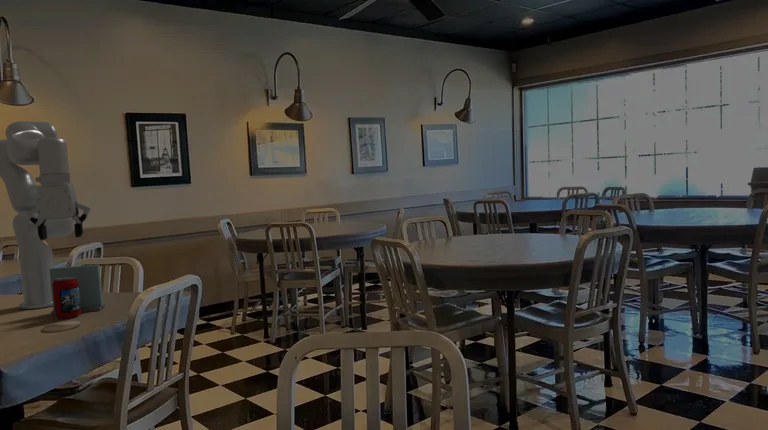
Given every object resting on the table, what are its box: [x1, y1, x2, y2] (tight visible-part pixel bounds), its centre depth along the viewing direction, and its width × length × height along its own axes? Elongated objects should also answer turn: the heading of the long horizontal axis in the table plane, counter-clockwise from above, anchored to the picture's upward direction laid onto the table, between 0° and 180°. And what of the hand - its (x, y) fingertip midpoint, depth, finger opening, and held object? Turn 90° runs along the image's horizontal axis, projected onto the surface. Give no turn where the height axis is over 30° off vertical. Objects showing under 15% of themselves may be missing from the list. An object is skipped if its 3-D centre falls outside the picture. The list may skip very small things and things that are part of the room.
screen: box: [49, 264, 106, 316], centre depth 176 cm, size 5×14×14 cm, turn 99°
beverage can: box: [53, 276, 82, 320], centre depth 168 cm, size 7×7×12 cm
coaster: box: [42, 320, 81, 333], centre depth 156 cm, size 9×9×1 cm
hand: (61, 238), depth 167 cm, fingers open, 9 cm apart
